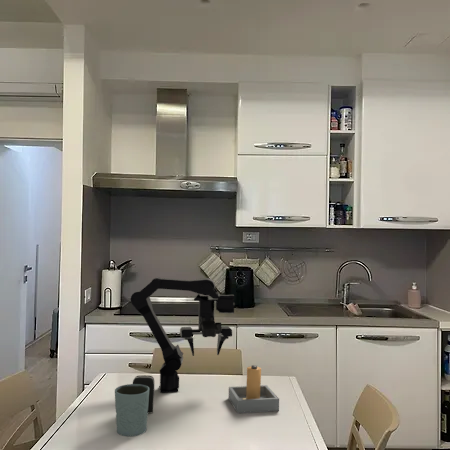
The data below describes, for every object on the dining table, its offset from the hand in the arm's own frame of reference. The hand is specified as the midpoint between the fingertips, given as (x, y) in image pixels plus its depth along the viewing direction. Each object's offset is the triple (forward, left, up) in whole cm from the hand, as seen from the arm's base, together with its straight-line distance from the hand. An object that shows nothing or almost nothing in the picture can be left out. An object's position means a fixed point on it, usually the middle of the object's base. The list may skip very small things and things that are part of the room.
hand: (205, 355), depth 176 cm
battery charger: (-23, -17, -13) cm, 32 cm away
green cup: (-27, -31, -13) cm, 43 cm away
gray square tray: (+14, -16, -13) cm, 25 cm away
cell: (+14, -16, -12) cm, 24 cm away
